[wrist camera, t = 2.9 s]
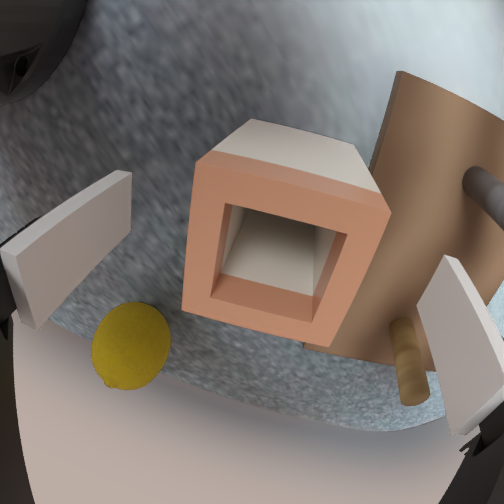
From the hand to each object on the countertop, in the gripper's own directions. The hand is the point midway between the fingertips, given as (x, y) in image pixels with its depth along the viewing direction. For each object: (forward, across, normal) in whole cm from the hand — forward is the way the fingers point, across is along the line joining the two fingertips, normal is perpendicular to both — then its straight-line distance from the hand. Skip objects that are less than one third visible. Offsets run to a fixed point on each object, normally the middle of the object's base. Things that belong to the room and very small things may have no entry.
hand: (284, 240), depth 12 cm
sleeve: (+6, 0, 0) cm, 6 cm away
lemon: (+7, -8, -12) cm, 16 cm away
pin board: (+7, +10, -2) cm, 12 cm away
